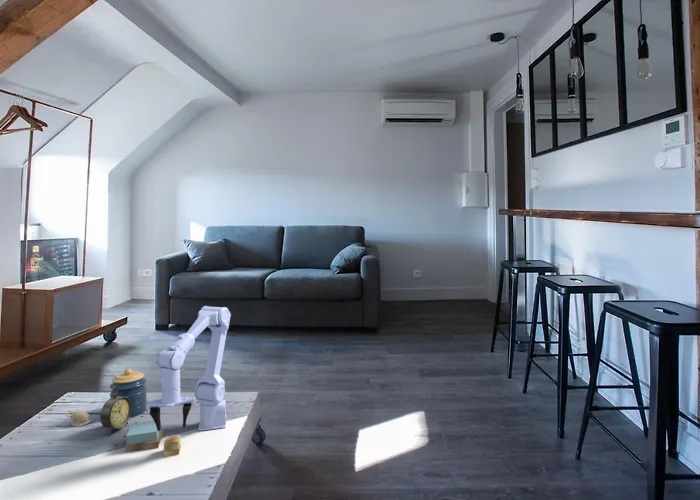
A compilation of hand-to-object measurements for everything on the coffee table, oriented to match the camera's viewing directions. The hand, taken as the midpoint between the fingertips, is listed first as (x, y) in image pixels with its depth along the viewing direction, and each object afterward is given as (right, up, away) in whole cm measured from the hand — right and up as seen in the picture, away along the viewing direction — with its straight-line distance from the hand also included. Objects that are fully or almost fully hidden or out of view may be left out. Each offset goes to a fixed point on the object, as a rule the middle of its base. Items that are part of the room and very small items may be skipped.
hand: (171, 427), depth 133 cm
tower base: (-12, -9, +6) cm, 16 cm away
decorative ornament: (-44, -8, +20) cm, 49 cm away
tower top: (-12, -6, +6) cm, 15 cm away
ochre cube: (0, -8, 0) cm, 8 cm away
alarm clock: (-27, -8, +16) cm, 32 cm away
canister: (-30, -7, +30) cm, 43 cm away
